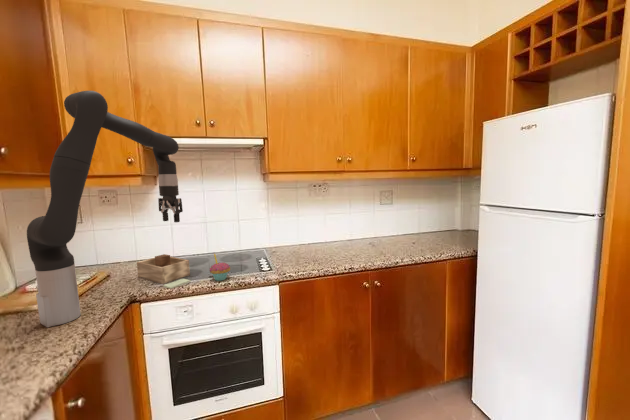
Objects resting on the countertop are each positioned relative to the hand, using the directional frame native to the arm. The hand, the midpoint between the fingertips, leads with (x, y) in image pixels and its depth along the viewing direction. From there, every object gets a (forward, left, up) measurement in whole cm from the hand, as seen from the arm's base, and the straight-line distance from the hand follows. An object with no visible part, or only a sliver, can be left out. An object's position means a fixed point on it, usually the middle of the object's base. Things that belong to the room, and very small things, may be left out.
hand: (171, 221), depth 129 cm
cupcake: (+8, -21, -25) cm, 34 cm away
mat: (-6, -9, -25) cm, 27 cm away
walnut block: (-2, +6, -23) cm, 23 cm away
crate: (-2, +6, -25) cm, 26 cm away
